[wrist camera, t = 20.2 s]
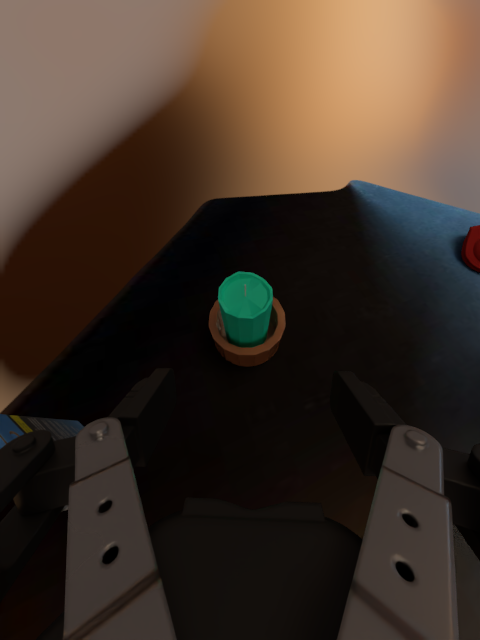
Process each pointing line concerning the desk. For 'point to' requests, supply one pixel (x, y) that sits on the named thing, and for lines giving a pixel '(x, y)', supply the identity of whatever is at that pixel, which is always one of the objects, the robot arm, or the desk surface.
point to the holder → (248, 354)
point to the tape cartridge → (36, 428)
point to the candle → (245, 308)
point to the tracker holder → (472, 248)
